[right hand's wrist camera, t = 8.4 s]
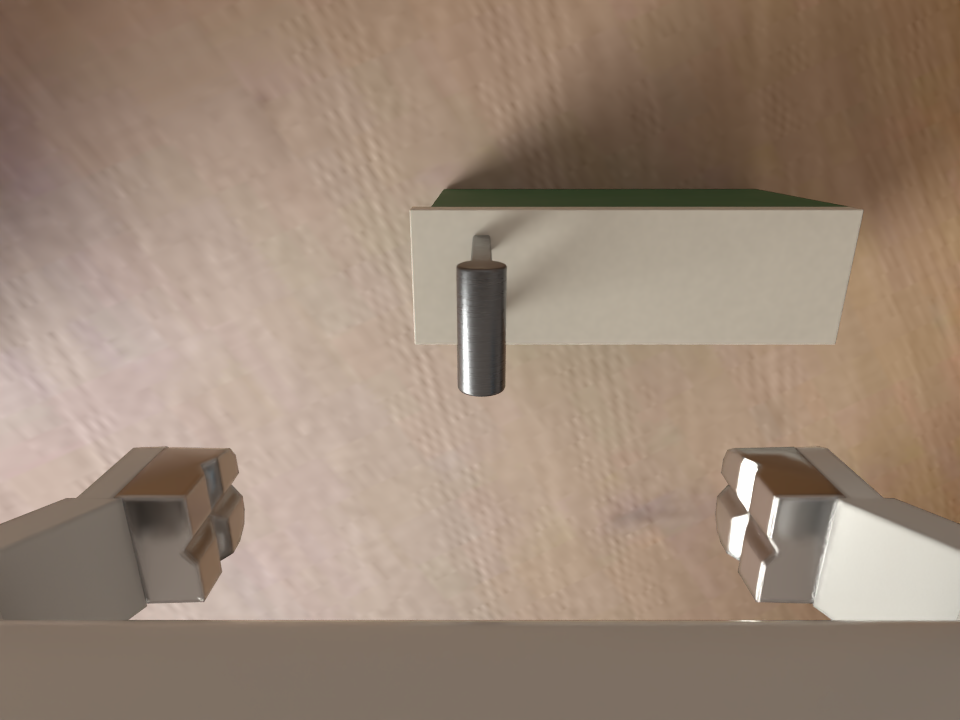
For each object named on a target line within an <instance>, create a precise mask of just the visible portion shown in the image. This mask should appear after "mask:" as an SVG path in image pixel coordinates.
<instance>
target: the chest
mask: <svg viewBox="0 0 960 720" xmlns="http://www.w3.org/2000/svg"><path fill="white" fill-rule="evenodd" d="M432 207H847V206H842V205H837V204H832V203H827V202H821V201H816V200H811V199H805V198H800V197H795V196H790V195H784V194H779V193H774V192H768V191H763V190H757V189H444V190H443V191H442V193H441V194H440V195H439V197H438V198H437V200H436V201H435V202H434V204H433V205H432Z"/></svg>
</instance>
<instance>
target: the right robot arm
mask: <svg viewBox="0 0 960 720" xmlns="http://www.w3.org/2000/svg"><path fill="white" fill-rule="evenodd" d="M238 473H239V470H238V465H237V460H236V455H235V454H234V453H233V451H232V450H231V449H230V448H187V447H170V448H169V447H167V446H165V447H139V448H133V449H132V450H130V451H129V452H128V453H127V454H126V455H125V456H124V457H123V458H121V459H120V460H119V461H118V462H117V463H116V464H115V465H113V466H112V467H111V468H110V469H109V470H108V471H107V472H105V473H104V474H103V475H102V476H101V477H100V478H99V479H98V480H96V481H95V482H94V483H93V484H92V485H91V486H90V487H88V488H87V489H86V490H85V491H84V492H83V493H82V494H81V495H79V496H78V497H77V498H66V499H63V500H60V501H58V502H55V503H53V504H50V505H48V506H45V507H42V508H40V509H37V510H35V511H32V512H30V513H27V514H25V515H22V516H19V517H17V518H14V519H12V520H9V521H7V522H4V523H2V524H0V720H960V524H958V523H956V522H953V521H951V520H948V519H946V518H943V517H940V516H938V515H935V514H933V513H930V512H928V511H925V510H923V509H920V508H917V507H915V506H912V505H910V504H907V503H905V502H902V501H900V500H897V499H895V498H883V497H882V496H881V495H880V494H878V493H877V492H876V491H875V490H874V489H873V488H872V487H870V486H869V485H868V484H867V483H866V482H865V481H864V480H863V479H861V478H860V477H859V476H858V475H857V474H856V473H855V472H854V471H852V470H851V469H850V468H849V467H848V466H847V465H846V464H844V463H843V462H842V461H841V460H840V459H839V458H838V457H837V456H835V455H834V454H833V453H832V452H831V451H830V450H829V449H827V448H823V447H820V446H817V447H770V448H734V449H729V450H727V452H726V454H725V457H724V459H723V464H722V470H721V473H722V475H723V477H724V478H725V480H726V481H727V483H728V484H729V485H728V486H727V487H726V488H725V489H724V490H723V491H722V492H721V493H720V494H719V495H718V496H717V503H716V512H715V517H716V527H717V533H718V536H719V539H720V542H721V544H722V546H723V547H724V549H725V551H726V553H728V554H729V555H731V556H732V557H734V558H736V559H737V560H739V561H740V562H739V568H738V573H739V575H740V576H741V578H742V579H743V581H744V583H745V584H746V586H747V588H748V589H749V591H750V593H751V594H752V596H753V598H754V599H755V601H756V602H777V603H813V606H814V607H815V608H816V609H818V610H819V611H821V612H822V613H823V614H825V615H826V616H827V617H829V618H830V619H831V620H129V619H130V618H131V617H133V616H134V615H136V614H137V613H138V612H140V611H141V610H142V609H144V608H145V607H146V606H147V604H146V603H182V602H204V601H205V599H206V598H207V596H208V594H209V593H210V591H211V589H212V588H213V586H214V584H215V583H216V581H217V580H218V578H219V576H220V575H221V573H222V568H221V562H220V561H221V560H223V559H224V558H226V557H228V556H229V555H231V554H232V553H234V551H235V549H236V547H237V545H238V544H239V542H240V539H241V535H242V531H243V527H244V511H245V509H244V502H243V496H242V495H241V494H240V493H239V492H238V491H237V490H236V489H235V488H234V487H233V486H232V485H231V484H232V483H233V481H234V480H235V478H236V477H237V475H238Z"/></svg>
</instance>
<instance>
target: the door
mask: <svg viewBox="0 0 960 720" xmlns="http://www.w3.org/2000/svg"><path fill="white" fill-rule="evenodd" d="M863 211H864V210H863V209H858V208H853V207H412V208H411V209H410V232H411V257H412V282H413V308H414V333H415V344H457V361H458V388H459V390H460V391H461V392H462V393H464V394H467V395H471V396H481V397H482V396H492V395H496V394H499V393H501V392H502V391H503V390H504V388H505V364H506V344H835V343H836V338H837V333H838V329H839V324H840V319H841V315H842V310H843V305H844V301H845V296H846V291H847V286H848V282H849V277H850V272H851V268H852V263H853V258H854V254H855V249H856V244H857V240H858V235H859V230H860V225H861V221H862V216H863Z"/></svg>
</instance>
